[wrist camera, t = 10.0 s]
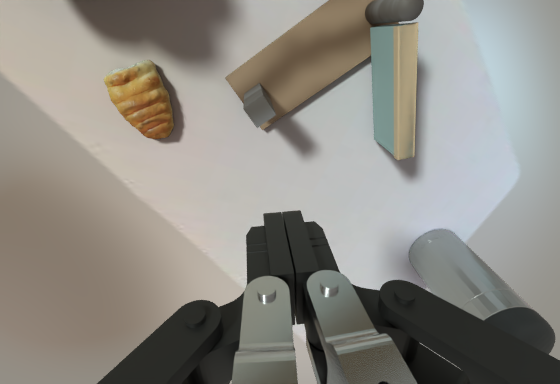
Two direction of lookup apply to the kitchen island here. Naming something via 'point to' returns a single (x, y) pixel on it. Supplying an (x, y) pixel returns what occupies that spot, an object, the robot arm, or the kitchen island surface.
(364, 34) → the gate frame
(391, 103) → the gate panel
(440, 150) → the kitchen island surface
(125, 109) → the pastry
